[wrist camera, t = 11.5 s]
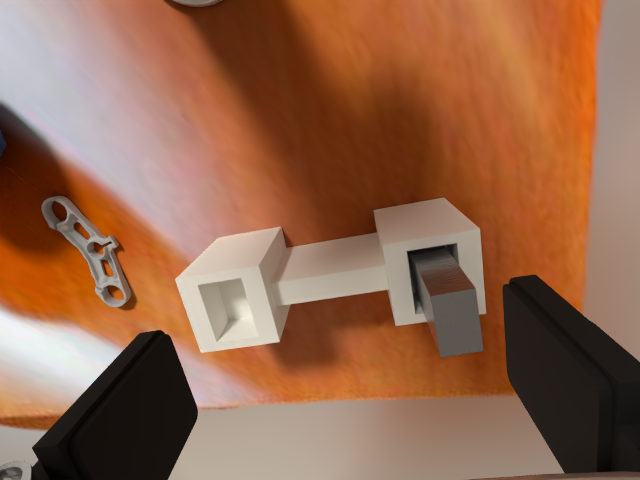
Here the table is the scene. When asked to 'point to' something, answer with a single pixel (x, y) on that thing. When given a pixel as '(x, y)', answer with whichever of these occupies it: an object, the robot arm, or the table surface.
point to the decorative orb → (2, 143)
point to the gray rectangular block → (446, 301)
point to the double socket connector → (319, 273)
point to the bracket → (90, 249)
